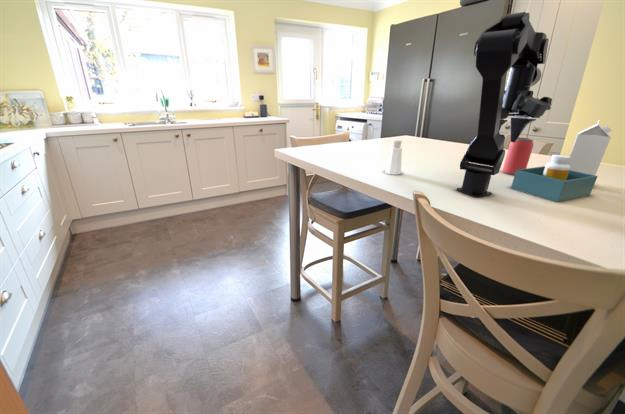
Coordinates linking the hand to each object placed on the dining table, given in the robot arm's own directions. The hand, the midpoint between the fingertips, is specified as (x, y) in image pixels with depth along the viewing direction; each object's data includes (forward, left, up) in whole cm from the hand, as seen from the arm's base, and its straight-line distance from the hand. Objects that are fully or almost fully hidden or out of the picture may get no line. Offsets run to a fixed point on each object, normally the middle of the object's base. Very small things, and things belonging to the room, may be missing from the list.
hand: (502, 142), depth 85 cm
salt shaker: (-24, +19, -12) cm, 33 cm away
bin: (+6, -13, -12) cm, 19 cm away
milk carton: (+23, -11, -12) cm, 28 cm away
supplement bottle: (+6, -13, -12) cm, 18 cm away
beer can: (+16, +4, -12) cm, 21 cm away
